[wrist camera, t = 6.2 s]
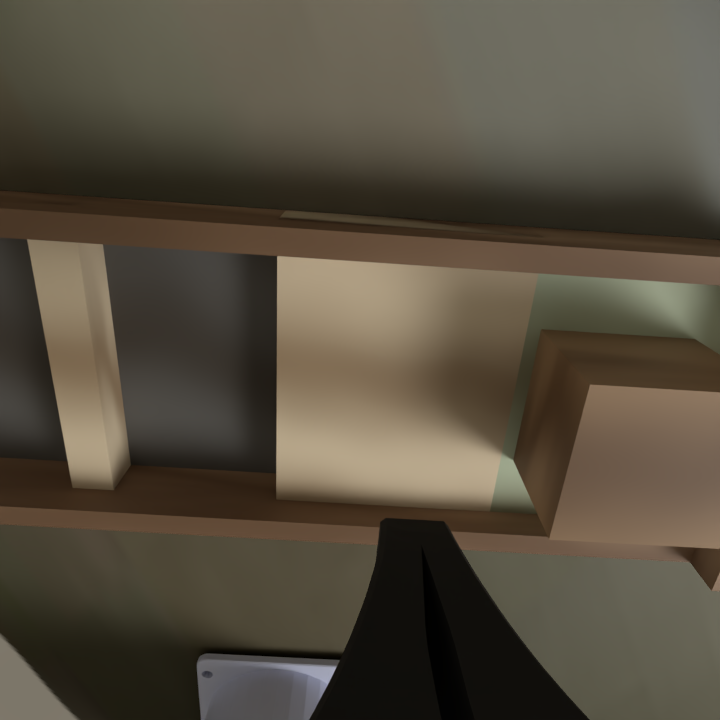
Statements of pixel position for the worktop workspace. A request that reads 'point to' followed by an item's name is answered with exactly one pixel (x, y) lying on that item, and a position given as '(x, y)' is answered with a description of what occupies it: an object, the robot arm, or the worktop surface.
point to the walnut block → (623, 439)
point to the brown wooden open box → (304, 366)
